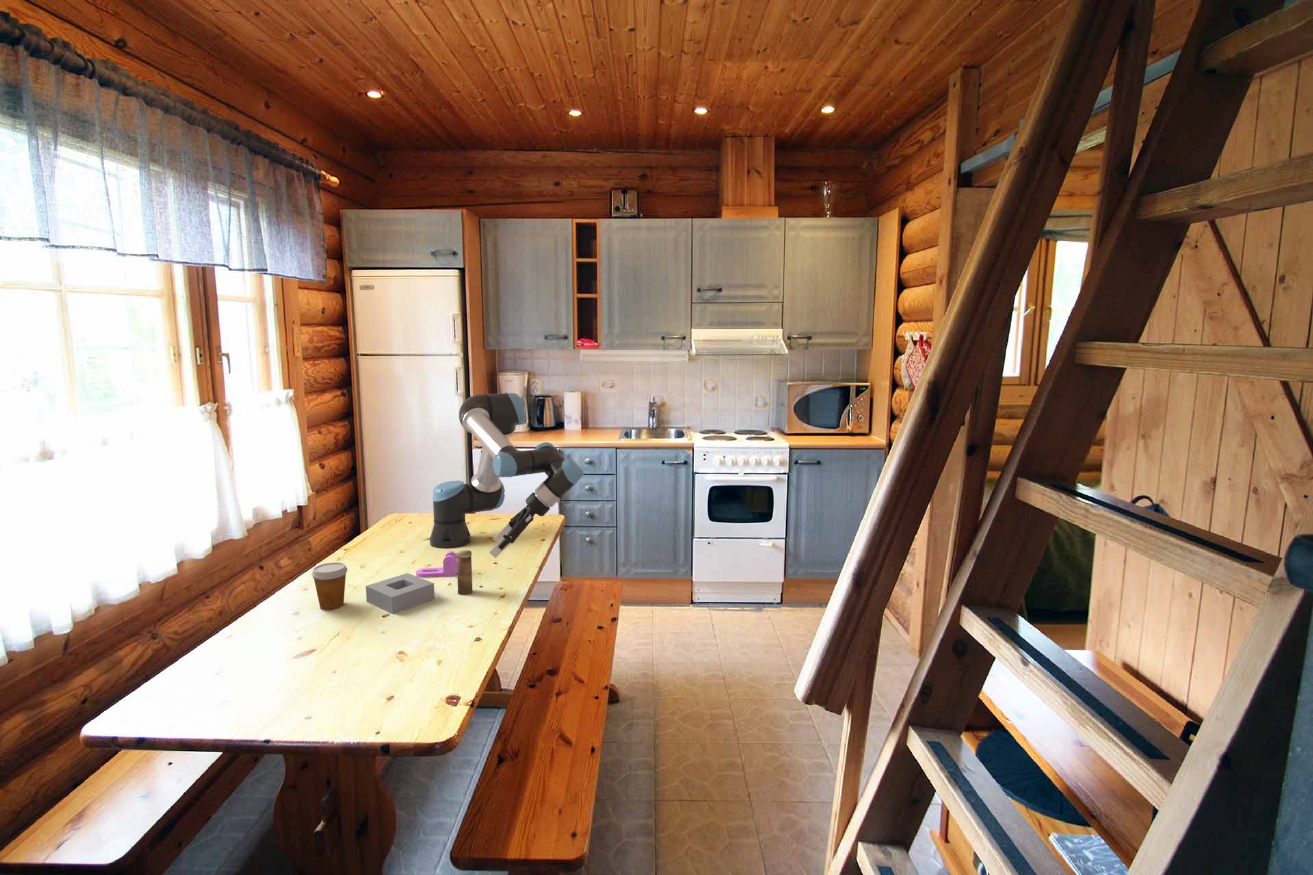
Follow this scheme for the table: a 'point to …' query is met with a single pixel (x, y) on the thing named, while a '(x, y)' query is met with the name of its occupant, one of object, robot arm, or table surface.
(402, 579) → the socket block
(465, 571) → the walnut pin
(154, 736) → the table surface
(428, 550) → the table surface
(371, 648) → the table surface
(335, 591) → the disposable coffee cup
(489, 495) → the robot arm
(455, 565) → the bracket
